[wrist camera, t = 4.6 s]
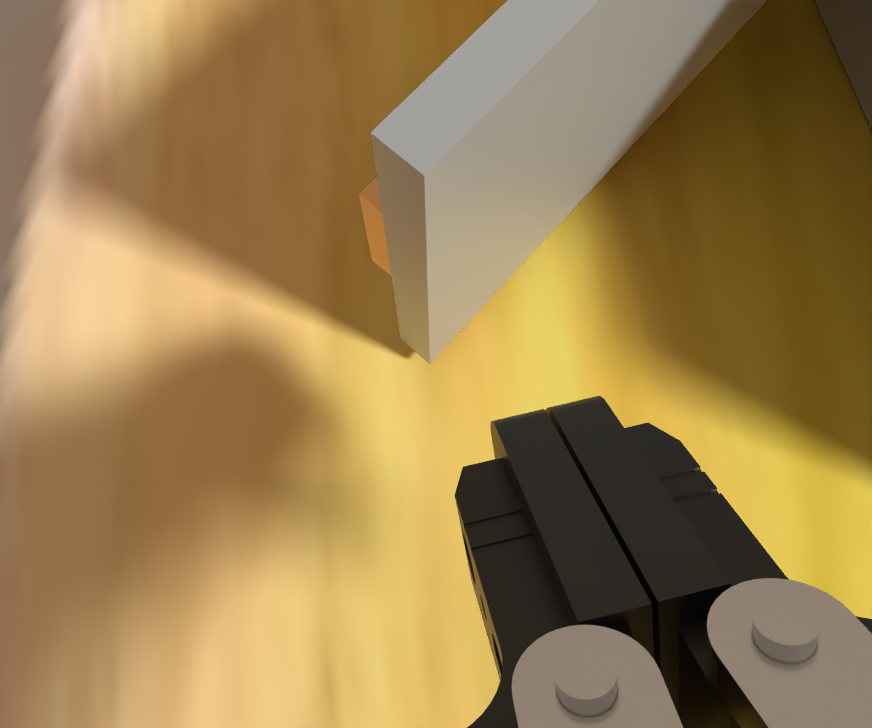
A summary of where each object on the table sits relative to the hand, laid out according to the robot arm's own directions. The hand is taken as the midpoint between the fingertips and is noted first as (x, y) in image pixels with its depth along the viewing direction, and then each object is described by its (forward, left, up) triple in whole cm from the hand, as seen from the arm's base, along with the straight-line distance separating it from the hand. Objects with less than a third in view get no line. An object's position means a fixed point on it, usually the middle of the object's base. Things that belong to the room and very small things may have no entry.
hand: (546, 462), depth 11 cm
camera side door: (-4, -7, -4) cm, 10 cm away
